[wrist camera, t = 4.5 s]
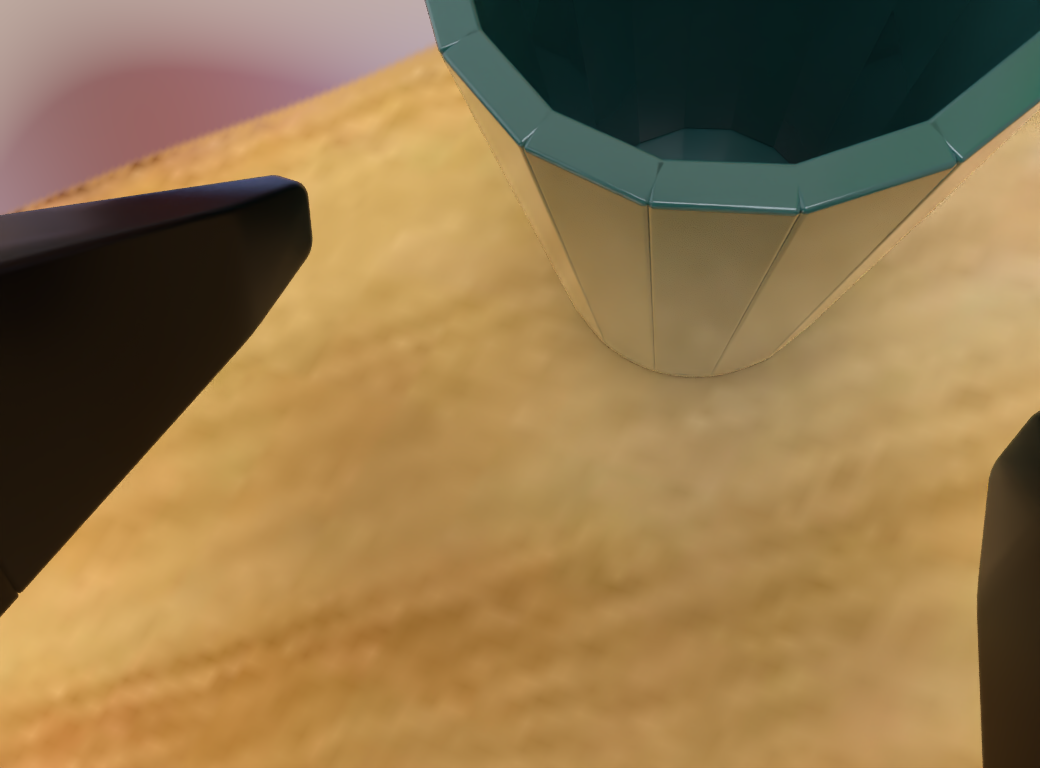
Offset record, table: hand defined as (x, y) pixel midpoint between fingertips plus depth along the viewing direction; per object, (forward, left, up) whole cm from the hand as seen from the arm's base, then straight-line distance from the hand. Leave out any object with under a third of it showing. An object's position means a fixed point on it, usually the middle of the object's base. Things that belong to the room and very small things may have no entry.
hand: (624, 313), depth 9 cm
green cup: (+4, +2, -10) cm, 11 cm away
